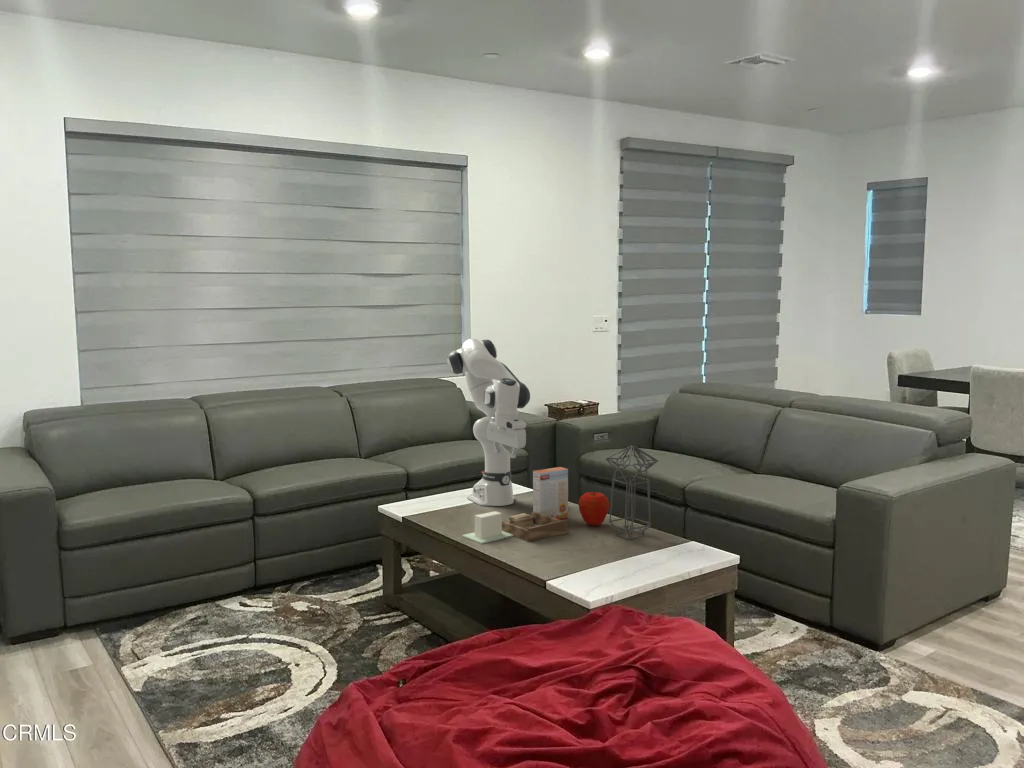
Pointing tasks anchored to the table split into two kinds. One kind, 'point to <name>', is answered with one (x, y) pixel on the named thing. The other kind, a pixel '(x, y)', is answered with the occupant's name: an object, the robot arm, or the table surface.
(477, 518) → the white rectangular block
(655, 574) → the table surface
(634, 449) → the geometric lantern
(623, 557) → the table surface
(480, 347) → the robot arm
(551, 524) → the wooden frame
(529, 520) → the offcut stack
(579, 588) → the table surface
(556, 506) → the cracker box
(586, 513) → the apple
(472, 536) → the mat
